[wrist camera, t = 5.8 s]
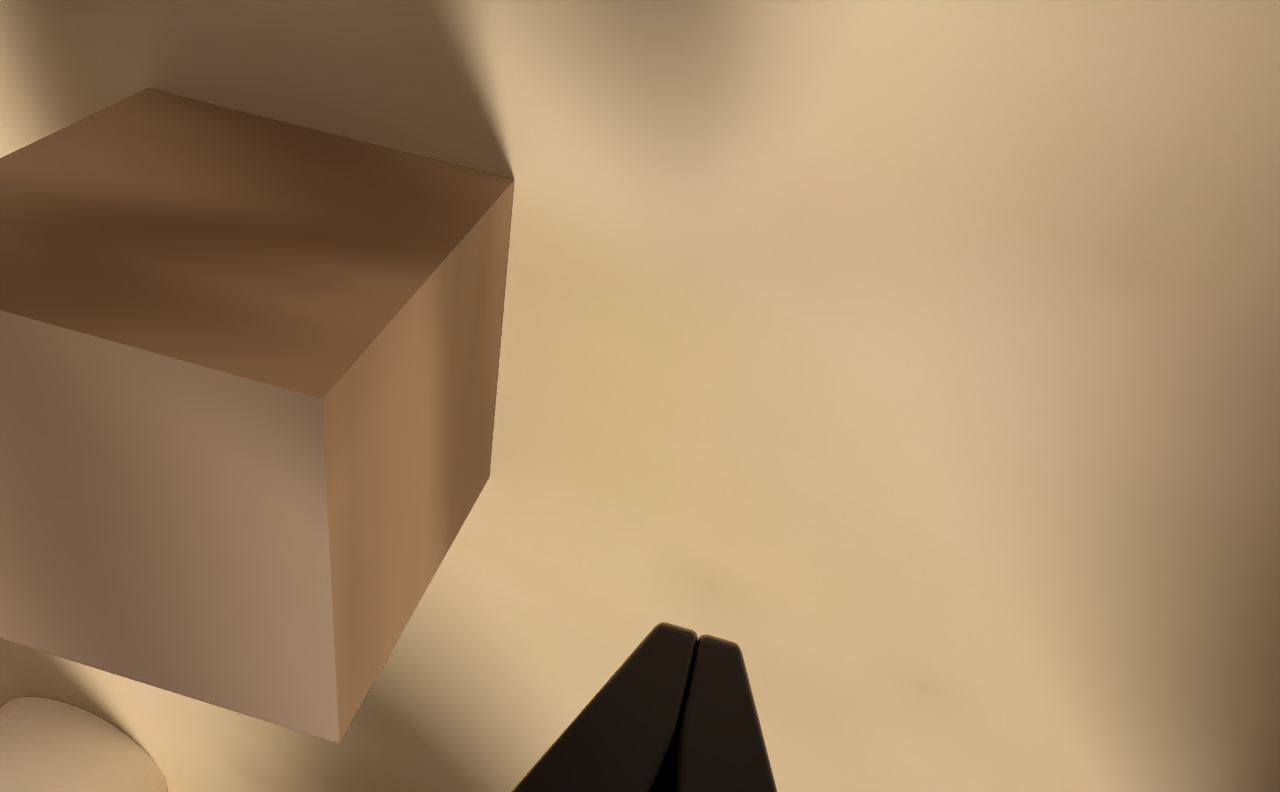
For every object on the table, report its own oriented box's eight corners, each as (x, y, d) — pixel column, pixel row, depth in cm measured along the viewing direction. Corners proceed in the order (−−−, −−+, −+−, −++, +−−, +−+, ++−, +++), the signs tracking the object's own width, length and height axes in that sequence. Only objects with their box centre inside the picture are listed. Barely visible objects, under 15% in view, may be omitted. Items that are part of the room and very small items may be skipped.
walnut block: (516, 177, 12) (322, 399, 8) (490, 473, 15) (339, 744, 11) (152, 86, 13) (-203, 254, 9) (196, 392, 16) (-53, 622, 12)
